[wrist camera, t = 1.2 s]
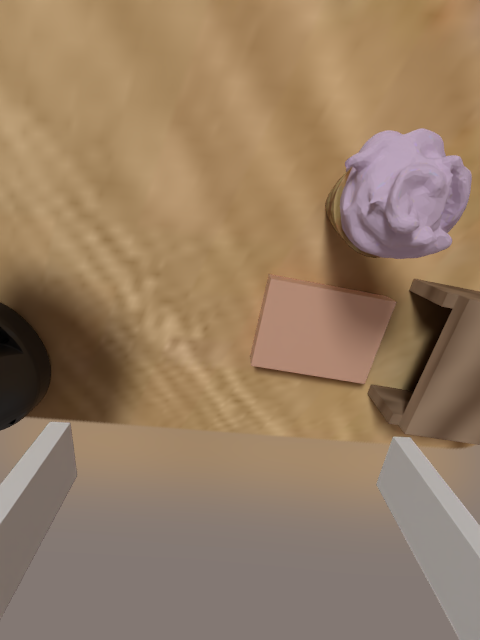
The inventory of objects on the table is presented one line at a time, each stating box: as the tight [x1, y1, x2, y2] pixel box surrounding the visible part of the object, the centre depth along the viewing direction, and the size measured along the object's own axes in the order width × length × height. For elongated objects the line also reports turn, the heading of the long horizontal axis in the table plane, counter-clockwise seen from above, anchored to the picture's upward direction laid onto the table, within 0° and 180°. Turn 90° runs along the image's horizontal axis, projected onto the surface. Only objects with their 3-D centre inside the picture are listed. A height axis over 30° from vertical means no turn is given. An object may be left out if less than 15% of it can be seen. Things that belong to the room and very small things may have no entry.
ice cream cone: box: [325, 129, 471, 259], centre depth 20 cm, size 7×6×15 cm
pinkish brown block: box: [250, 274, 396, 384], centre depth 31 cm, size 12×9×2 cm
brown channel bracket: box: [368, 279, 480, 445], centre depth 29 cm, size 10×13×8 cm
